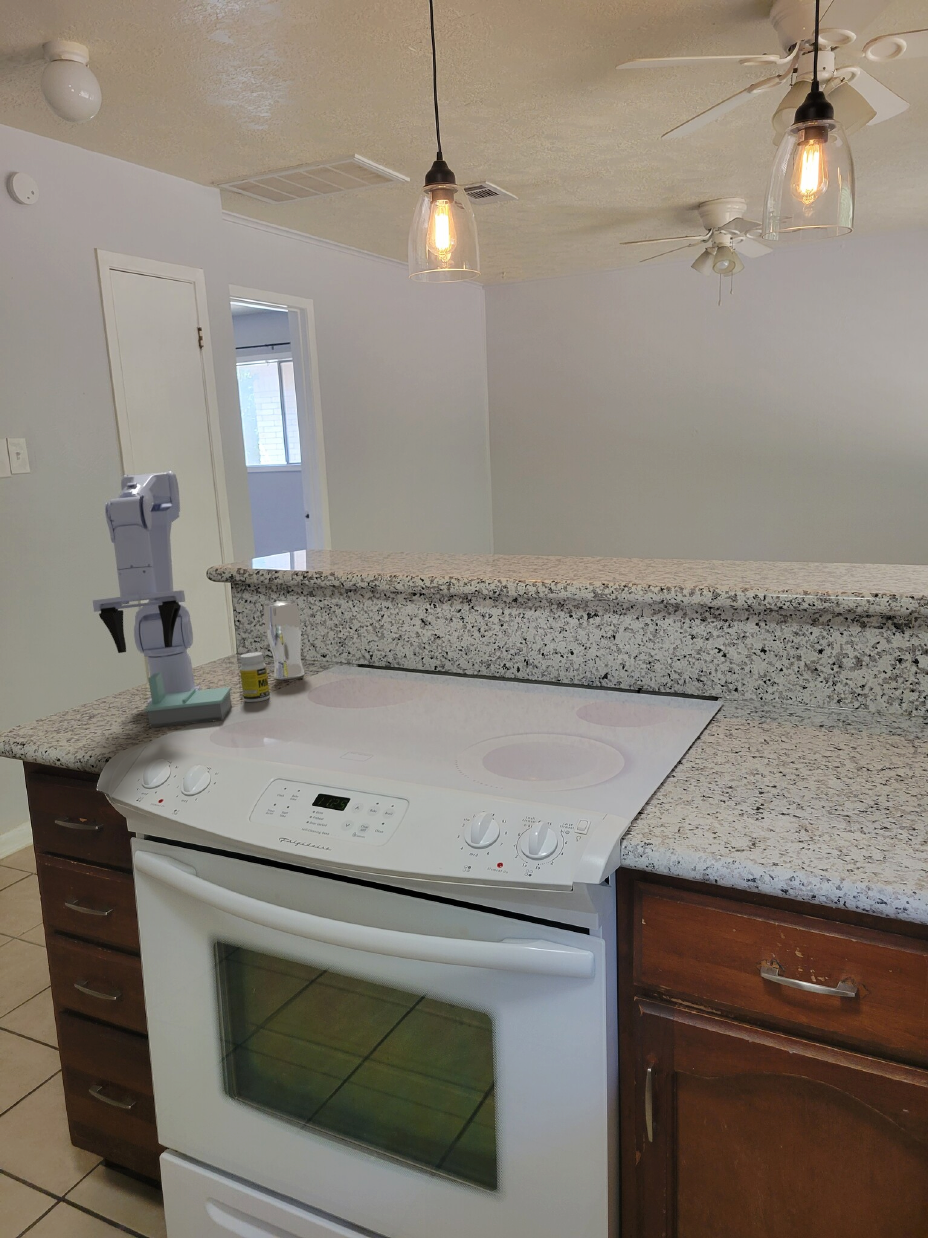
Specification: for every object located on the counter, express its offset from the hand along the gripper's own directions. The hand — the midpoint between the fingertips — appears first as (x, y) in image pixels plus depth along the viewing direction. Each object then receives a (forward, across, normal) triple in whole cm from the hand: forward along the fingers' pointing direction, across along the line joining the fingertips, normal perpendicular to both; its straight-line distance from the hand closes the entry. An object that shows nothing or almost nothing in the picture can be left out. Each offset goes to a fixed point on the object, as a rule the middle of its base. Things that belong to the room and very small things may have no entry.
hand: (145, 649), depth 148 cm
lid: (+10, +5, +4) cm, 12 cm away
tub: (+13, +5, +5) cm, 14 cm away
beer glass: (+9, +19, +30) cm, 37 cm away
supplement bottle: (+12, +15, +13) cm, 23 cm away
